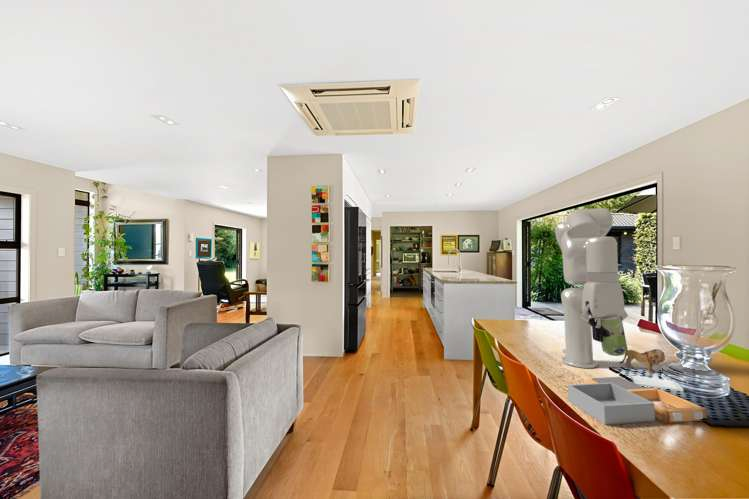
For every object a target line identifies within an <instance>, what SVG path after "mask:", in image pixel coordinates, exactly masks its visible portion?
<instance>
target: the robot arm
mask: <svg viewBox="0 0 749 499" xmlns="http://www.w3.org/2000/svg"><path fill="white" fill-rule="evenodd" d="M613 222H614V218H613V215H612V212H611V211H610V210H609V209H607V208H605V207H599V208H596V207H595V208H584V209H583V208H582V209H576V210H572V211H571V212H570V213H569V214H568V215H567V216H566V221H562V222H559V223H558V224H556V225H555V229H554V233H555V239H556V242H557V244H558V246H559V248H560V251H561V257H562V270H563V279H564V281H565V283H566V284H569V285H574V286H583V285H584V286H583V287H569V288H565V289H564V290H562V291H561V294H560V299H561V304H562V310H563V316H564V320H563V321H564V335H565V336H564V337H565V338H564V339H565V349H562V350H561V352H562V353H563V354H564V356H563V357H561V361H562V362H563V363H564V364H565V365H568V366H570V367H575V368H576V367H577V368H582V369H584V368H585V369H593V368H597V367H598V365H599V363H598V362H597V360H595V359H594V355H593V341H596V342H598V343H601V342H603V329H602V328H600V327H601V319H602V318H604V317H613V316H617V315H619V317H620V318H621V319H622V322H623V320H625V319H627V317H628V316H629V314H628V312H626V310H625V301H624V293H623V289H622V285H621V282H619V279H621V274H620V273H619V266H618V265H619V264H618V263H619V262H618V243H617V239H616V238H615V237H613V236H607V234H608V233H609V232H610V230H611V229H612V226H613Z"/></svg>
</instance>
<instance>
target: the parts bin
mask: <svg viewBox="0 0 749 499" xmlns="http://www.w3.org/2000/svg"><path fill="white" fill-rule="evenodd" d="M567 396H568V398H567V399H568V402H569V403H571V404H572V405H574V406H576V407H577V408H578V409H580V410H582V411H583V412H585V413H586V414H587V415H589V416H591V417H592V418H594V419H595V420H597V421H598V422H600V424H603V425H604V426H611V425H625V424H626V425H627V424H629V425H630V424H642V423H655V422H656V417H655V410H654V404H655V403H654V402H653V401H652V400H647V399H644V398H642V397H640V396H638V395H636V394H634V393H632V392H630V391H628V390H626V389H623V388H621V387H619V386H617V385H615V384H613V383H594V384H591V383H581V384H580V383H578V384H568V385H567Z"/></svg>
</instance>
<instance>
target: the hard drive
mask: <svg viewBox="0 0 749 499" xmlns="http://www.w3.org/2000/svg"><path fill="white" fill-rule="evenodd" d="M630 379H631V381H632V380H633V381H632V382H633V383H635V384H637V385H639V386H648V387H656V388H663V389H670V390H676V391H675V392H677V391H684V392H685V390H684V388H683V387H682V386H681V385H680V384H679V383H678V382H677V383H675V382H674V381H675V380H669V379H668V380H667V379H662V378H653V377H648V376H647V377H646V376H639V375H630ZM648 387H647V388H648Z"/></svg>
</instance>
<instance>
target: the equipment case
mask: <svg viewBox="0 0 749 499" xmlns="http://www.w3.org/2000/svg"><path fill="white" fill-rule="evenodd" d="M587 381H588V384H594V383H613V384H615V385H617V386H619V387H621V388H623V389H626V390H628V391H630V392H632V393H634V394H636V395H638V396H640V397H642V398H644V399H647V400H649V401H654V400H658V401H660V402H663V403H664V404H667V405H668V406H671V407H672V408H664V407H663V406H662V407H661V406H659V405H657V404H655V403H654V410H655V419H658V420H660V421H662V422H664V423H666V424H668V423H680V422H681V423H682V422H694V421H695V422H696V421H697V422H698V421H702V420H701V419H703V418H707V417H708V415H707V408H705V407H703V406H701V405H698V404H696V403H693V402H691V401H688V400H686V399H684V398H681V397H680V396H677V395H674V394H672V393H670V392H668V391H666V390H662V389H658V388H648V387H642V386H639V385H637V384H635V383H634V382H633V381H631V380H628V379H625V378H623V377H621V376H610V377H609V376H607V377H592V378H588V380H587ZM707 419H708V418H707Z"/></svg>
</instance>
